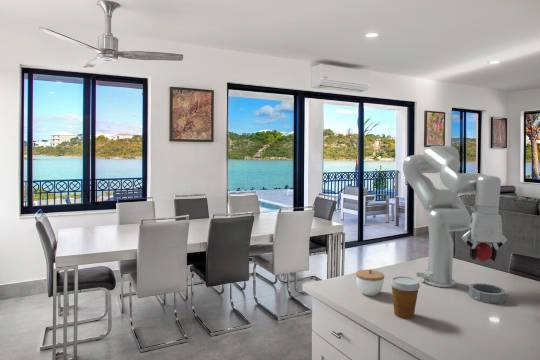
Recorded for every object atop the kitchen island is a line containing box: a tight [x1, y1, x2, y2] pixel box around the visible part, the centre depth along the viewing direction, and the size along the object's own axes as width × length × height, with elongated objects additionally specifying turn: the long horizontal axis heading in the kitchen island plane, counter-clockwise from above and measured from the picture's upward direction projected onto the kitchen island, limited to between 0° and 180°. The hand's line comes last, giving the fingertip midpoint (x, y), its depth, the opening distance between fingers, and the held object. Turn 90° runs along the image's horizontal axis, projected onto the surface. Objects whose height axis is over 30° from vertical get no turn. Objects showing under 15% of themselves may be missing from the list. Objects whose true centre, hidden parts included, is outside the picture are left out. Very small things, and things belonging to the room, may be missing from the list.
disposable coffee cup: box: [389, 275, 421, 319], centre depth 134 cm, size 10×10×12 cm
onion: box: [475, 242, 492, 263], centre depth 143 cm, size 6×6×8 cm
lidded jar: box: [355, 268, 385, 297], centre depth 155 cm, size 11×11×9 cm
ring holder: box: [468, 282, 507, 305], centre depth 151 cm, size 12×12×4 cm
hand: (482, 258), depth 143 cm, fingers closed on onion, 5 cm apart
